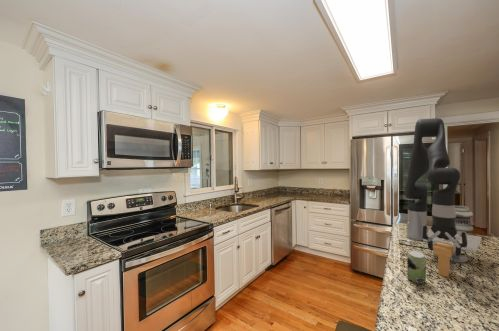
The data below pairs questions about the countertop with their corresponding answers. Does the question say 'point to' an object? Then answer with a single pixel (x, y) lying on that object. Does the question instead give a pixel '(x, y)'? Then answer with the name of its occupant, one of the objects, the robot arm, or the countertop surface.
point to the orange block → (443, 257)
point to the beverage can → (416, 266)
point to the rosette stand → (471, 245)
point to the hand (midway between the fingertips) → (444, 252)
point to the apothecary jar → (463, 219)
